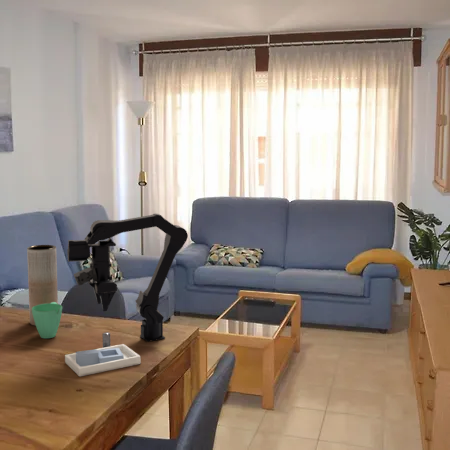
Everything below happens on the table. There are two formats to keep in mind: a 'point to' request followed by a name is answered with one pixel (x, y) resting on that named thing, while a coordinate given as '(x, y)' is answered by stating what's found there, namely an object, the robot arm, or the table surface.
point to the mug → (47, 319)
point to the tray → (128, 360)
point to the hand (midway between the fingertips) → (101, 307)
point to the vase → (42, 276)
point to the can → (106, 339)
